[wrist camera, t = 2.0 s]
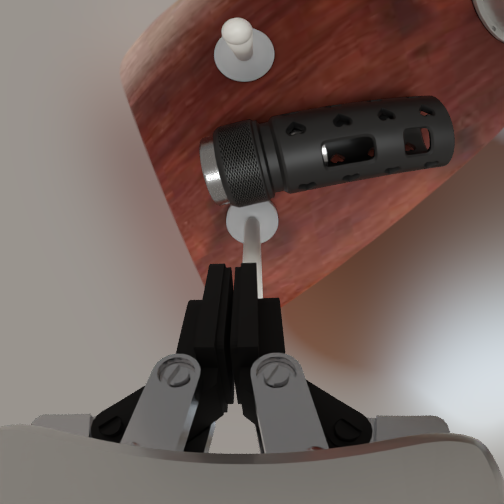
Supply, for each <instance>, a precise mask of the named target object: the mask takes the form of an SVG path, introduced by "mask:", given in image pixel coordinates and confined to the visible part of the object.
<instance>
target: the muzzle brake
mask: <svg viewBox="0 0 504 504" xmlns="http://www.w3.org/2000/svg"><path fill="white" fill-rule="evenodd" d="M421 111H423V112H426V113H428V114H427V115H425V116H423V115H421V114H420V112H421ZM429 114H430V115H429ZM421 128H427V129H428V131H429V138H430V147H429V149H428V150H427V148H426V146H425V143H424V140H423V137H422V132H421ZM406 144H407V145H409V146H410V147H412V148H413V149H414V150H410V151H405V145H406ZM454 145H455V138H454V130H453V125H452V122H451V119H450V116H449V114H448V112H447V110H446V108H445V107H444V105H443V104H442V103H441V102H440V101H439V100H438V99H437V98H436V97H433V96H413V97H400V98H389V99H379V100H371V101H361V102H353V103H346V104H339V105H332V106H326V107H320V108H314V109H308V110H303V111H297V112H292V113H289V114H282V115H277V116H273V117H271V118H270V119H269V121H268V122H266V123H261V124H259V123H258V122H257V121H256V120H254V121H251V120H250V119H248V120H244V121H240V122H236V123H232V124H228V125H224V126H221V127H218V128H217V129H216V130H215V131H214V133H213V135H212V136H209V137H205V138H202V139H201V141H200V146H199V151H200V161H201V166H202V171H203V175H204V179H205V182H206V185H207V188H208V191H209V193H210V195H211V197H212V199H213V200H214V202H215V203H216V204H217V205H224V204H228V203H230V204H231V205H232V206H235V207H238V208H240V207H245V206H249V205H253V204H258V203H262V202H267V201H269V200H270V199H271V198H274V196H275V192H280V191H286V192H287V193H290V194H291V193H296V192H301V191H306V190H311V189H316V188H321V187H326V186H331V185H336V184H341V183H346V182H351V181H357V180H362V179H368V178H373V177H379V176H385V175H390V174H396V173H402V172H408V171H415V170H421V169H427V168H434V167H441V166H445V165H447V164H448V163H449V162H450V160H451V158H452V155H453V152H454ZM371 149H373V150H374V156H373V157H371V156H369V155H368V152H369V151H370V150H371ZM334 155H337V156H339V157H341V158H342V159H343V160H344V161H343V162H340V161H338V162H337V163H332V162H331V159H332V158H333V157H334Z"/></svg>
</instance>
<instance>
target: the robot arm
mask: <svg viewBox="0 0 504 504" xmlns="http://www.w3.org/2000/svg"><path fill="white" fill-rule="evenodd" d="M473 4H474V6H475V9H476V12H477V14H478V16H479V18H480V19H481V21H482V23H483V24H484V26H485V27H486V28H487V30H488V31H489V32H490V33H491V34H492V35H493V36H494V37H495V38H497V39H498V40H500V41H501V42H503V43H504V0H473ZM234 382H235V387H236V394H237V400H238V404H242V409H243V415H244V416H245V417H246V418H248V419H249V420H250V421H251V422H253V423H254V424H255V431H256V435H257V441H258V446H259V451H260V454H215V453H214V454H213V453H208V452H209V448H210V445H211V441H212V437H213V433H214V429H215V421H216V420H217V419H219V418H220V417H221V416H223V414H224V412H227V408H228V404H233V402H234ZM0 504H504V480H503V477H502V475H501V472H500V470H499V467H498V465H497V463H496V461H495V460H494V458H493V456H492V454H491V453H490V451H489V450H488V448H487V447H486V446H485V445H484V444H483V443H482V442H481V441H479V440H477V439H475V438H473V437H469V436H466V435H461V434H454V433H450V431H449V428H448V425H447V424H446V423H445V422H444V420H443V419H441V418H439V417H436V416H376V418H366V417H365V416H364V415H363V414H361V413H360V412H358V411H356V410H355V409H353V408H351V407H349V406H348V405H346V404H344V403H343V402H341V401H339V400H337V399H336V398H335V397H333V396H331V395H330V394H328V393H326V392H325V391H323V390H321V389H320V388H318V387H317V386H315V385H313V384H312V383H310V382H308V381H307V380H306V379H305V376H304V373H303V370H302V367H301V365H300V364H299V362H298V361H297V360H296V359H295V358H293V357H292V356H290V355H287V354H285V346H284V336H283V327H282V317H281V308H280V300H279V298H259V299H258V286H257V263H241V267H236V268H235V280H234V291H233V280H232V270H231V267H229V268H226V265H225V264H210V265H209V270H208V274H207V279H206V284H205V290H204V295H203V300H190V301H189V302H188V305H187V309H186V313H185V317H184V321H183V325H182V330H181V334H180V338H179V343H178V347H177V351H176V354H172V355H168V356H166V357H164V358H162V359H161V360H160V361H159V362H157V364H156V365H155V367H154V368H153V370H152V372H151V374H150V377H149V379H148V381H147V383H146V385H145V386H144V387H142V388H141V389H139V390H137V391H135V392H134V393H132V394H131V395H129V396H127V397H126V398H124V399H122V400H121V401H119V402H117V403H116V404H114V405H112V406H111V407H109V408H107V409H106V410H104V411H102V412H101V413H100V414H98V415H97V416H96V417H92V416H91V415H90V414H74V415H41V416H39V417H37V418H36V419H35V420H34V421H33V422H32V424H31V425H24V424H21V425H8V426H2V427H0Z"/></svg>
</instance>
